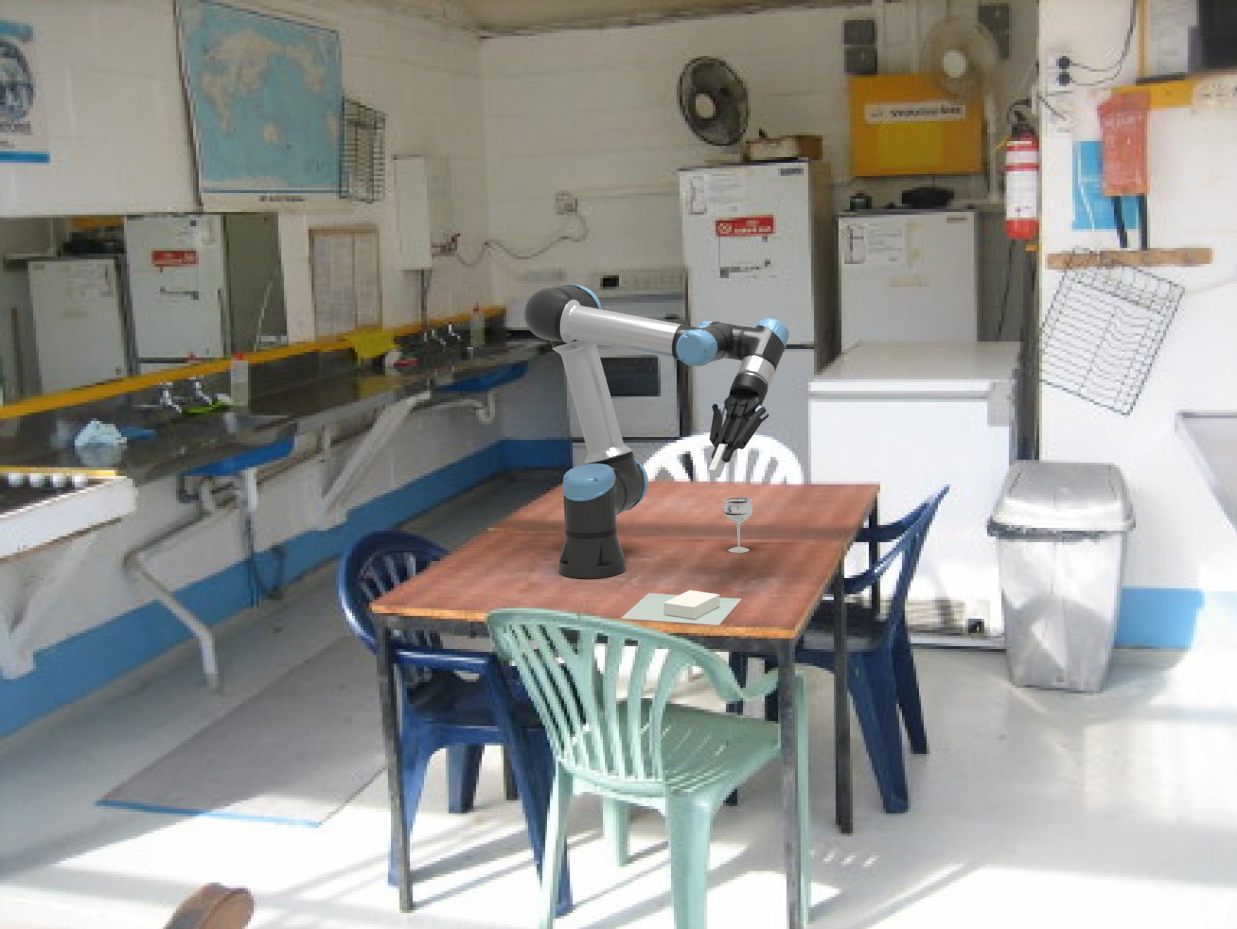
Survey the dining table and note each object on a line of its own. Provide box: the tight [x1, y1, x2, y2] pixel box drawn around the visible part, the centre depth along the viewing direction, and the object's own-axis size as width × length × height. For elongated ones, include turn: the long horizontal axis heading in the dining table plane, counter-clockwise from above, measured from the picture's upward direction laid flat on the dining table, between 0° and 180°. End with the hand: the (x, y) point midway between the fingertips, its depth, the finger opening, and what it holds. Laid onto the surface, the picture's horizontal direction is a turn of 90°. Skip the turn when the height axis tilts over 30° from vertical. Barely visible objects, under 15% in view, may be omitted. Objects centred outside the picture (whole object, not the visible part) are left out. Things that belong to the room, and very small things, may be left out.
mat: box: [620, 592, 742, 626], centre depth 267 cm, size 20×18×1 cm
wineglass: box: [723, 497, 753, 554], centre depth 313 cm, size 7×7×12 cm
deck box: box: [664, 589, 721, 619], centre depth 265 cm, size 2×7×10 cm
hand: (714, 473), depth 273 cm, fingers closed
